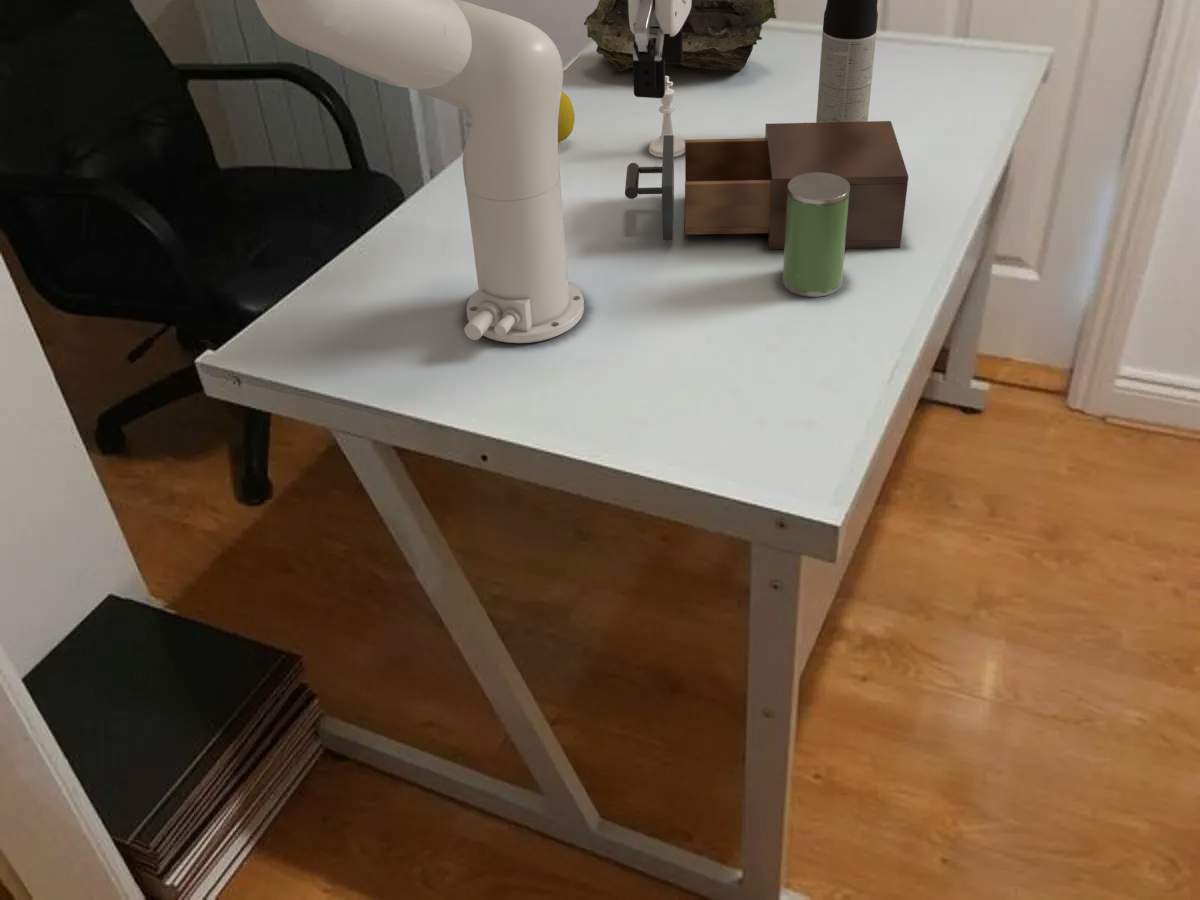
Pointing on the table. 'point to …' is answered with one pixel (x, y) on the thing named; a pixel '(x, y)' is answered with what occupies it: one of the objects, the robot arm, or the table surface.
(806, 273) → the tin can
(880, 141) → the cabinet
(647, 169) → the drawer
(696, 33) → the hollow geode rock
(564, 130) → the lemon
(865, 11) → the spray can
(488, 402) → the table surface
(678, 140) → the chess piece
